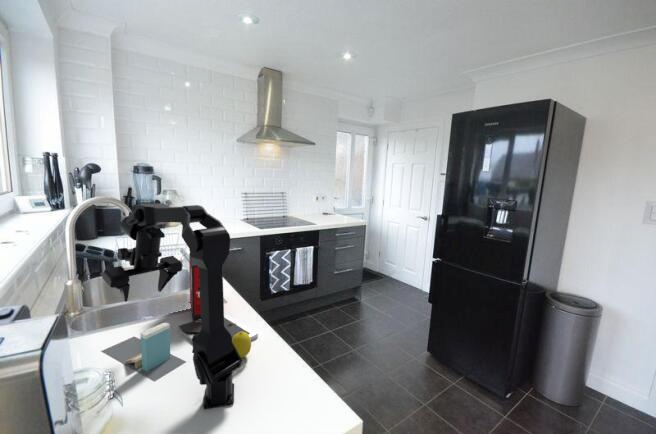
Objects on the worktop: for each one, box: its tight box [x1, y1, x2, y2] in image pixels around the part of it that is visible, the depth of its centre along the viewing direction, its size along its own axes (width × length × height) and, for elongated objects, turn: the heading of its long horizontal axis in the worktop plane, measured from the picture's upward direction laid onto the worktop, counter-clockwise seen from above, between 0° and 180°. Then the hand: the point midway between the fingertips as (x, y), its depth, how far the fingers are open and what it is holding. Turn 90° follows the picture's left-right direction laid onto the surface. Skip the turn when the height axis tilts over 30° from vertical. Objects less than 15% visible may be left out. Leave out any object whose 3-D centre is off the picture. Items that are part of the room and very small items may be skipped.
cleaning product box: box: [188, 252, 201, 322], centre depth 111 cm, size 16×9×20 cm, turn 28°
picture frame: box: [177, 313, 259, 343], centre depth 95 cm, size 16×3×21 cm
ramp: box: [126, 353, 142, 369], centre depth 81 cm, size 5×8×3 cm, turn 153°
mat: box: [101, 336, 187, 382], centre depth 82 cm, size 24×9×1 cm, turn 63°
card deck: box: [139, 322, 171, 371], centre depth 78 cm, size 2×7×10 cm, turn 153°
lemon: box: [232, 331, 252, 359], centre depth 83 cm, size 6×6×8 cm
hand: (143, 295), depth 85 cm, fingers open, 9 cm apart
